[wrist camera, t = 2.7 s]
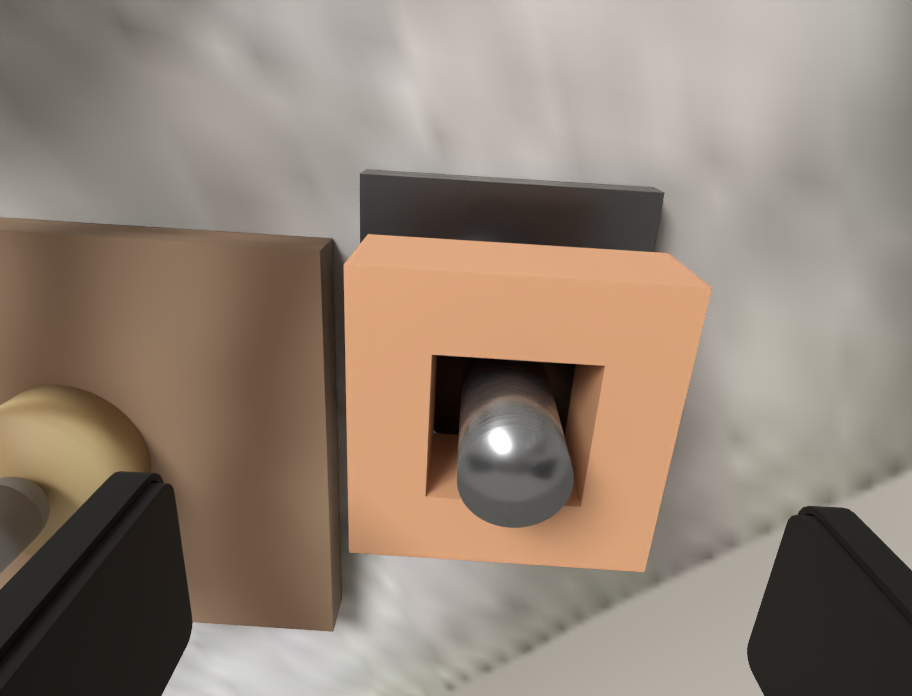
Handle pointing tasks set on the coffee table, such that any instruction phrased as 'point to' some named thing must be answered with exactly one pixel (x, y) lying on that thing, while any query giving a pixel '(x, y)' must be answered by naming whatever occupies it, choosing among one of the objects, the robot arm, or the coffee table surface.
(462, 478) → the stand
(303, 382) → the toggle switch
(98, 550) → the robot arm
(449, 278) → the square peach frame
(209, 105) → the coffee table surface
